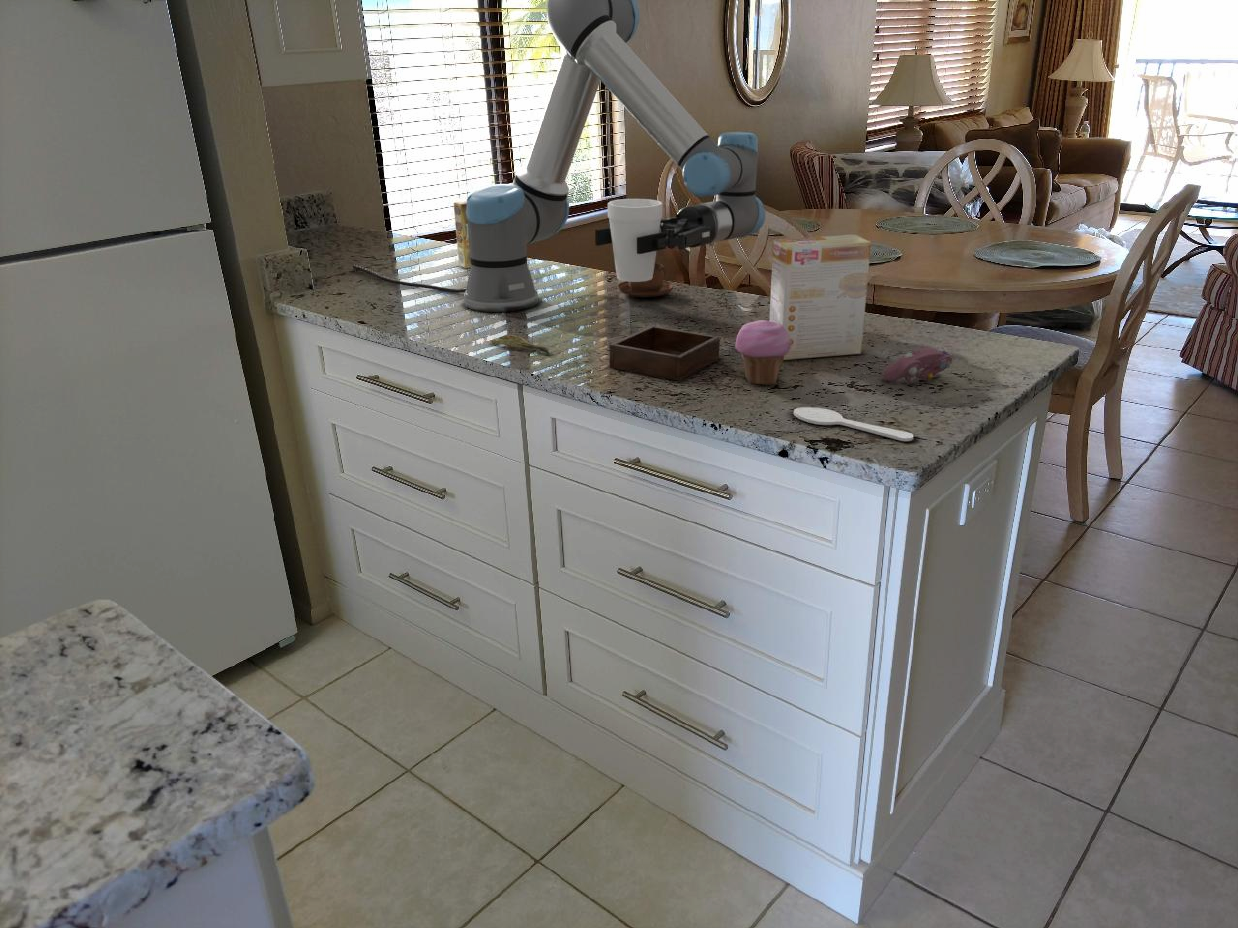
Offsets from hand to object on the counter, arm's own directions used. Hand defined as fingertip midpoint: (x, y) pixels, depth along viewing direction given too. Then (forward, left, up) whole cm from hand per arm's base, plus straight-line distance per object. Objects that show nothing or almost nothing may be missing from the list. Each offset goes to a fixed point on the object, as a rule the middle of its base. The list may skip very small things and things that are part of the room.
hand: (617, 241), depth 165 cm
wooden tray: (+12, -4, -19) cm, 23 cm away
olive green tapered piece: (-14, -10, -19) cm, 25 cm away
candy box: (-67, +39, -19) cm, 79 cm away
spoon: (+50, -15, -19) cm, 55 cm away
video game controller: (+51, +9, -19) cm, 55 cm away
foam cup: (+1, +4, -7) cm, 8 cm away
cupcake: (+30, -4, -19) cm, 36 cm away
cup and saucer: (-16, +35, -19) cm, 42 cm away
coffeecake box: (+31, +15, -19) cm, 39 cm away
